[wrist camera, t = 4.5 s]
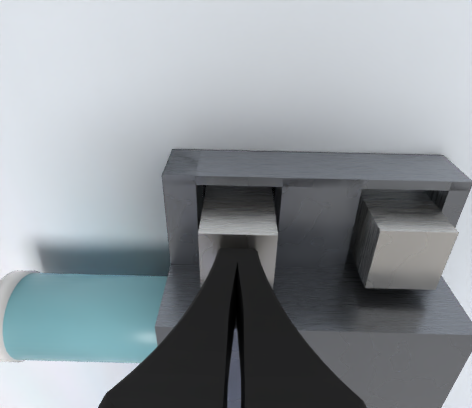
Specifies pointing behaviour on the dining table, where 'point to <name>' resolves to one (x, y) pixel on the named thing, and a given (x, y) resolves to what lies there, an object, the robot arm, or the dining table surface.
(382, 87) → the dining table surface
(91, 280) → the cylinder
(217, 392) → the robot arm
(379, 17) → the dining table surface
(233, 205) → the plunger
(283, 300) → the housing
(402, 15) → the dining table surface
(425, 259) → the plunger
